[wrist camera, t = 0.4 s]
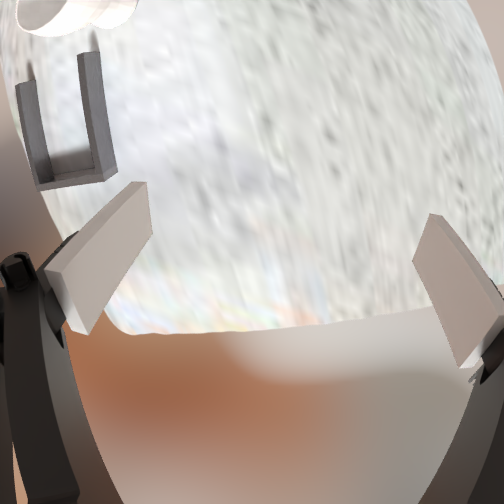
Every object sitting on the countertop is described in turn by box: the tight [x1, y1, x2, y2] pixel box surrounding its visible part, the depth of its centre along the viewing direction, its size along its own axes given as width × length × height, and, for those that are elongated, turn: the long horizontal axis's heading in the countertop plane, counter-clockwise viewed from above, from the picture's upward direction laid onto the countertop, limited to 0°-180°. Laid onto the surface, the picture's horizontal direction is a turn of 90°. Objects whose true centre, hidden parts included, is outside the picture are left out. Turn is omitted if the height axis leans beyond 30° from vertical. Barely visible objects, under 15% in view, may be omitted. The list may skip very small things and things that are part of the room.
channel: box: [15, 52, 118, 192], centre depth 34 cm, size 19×15×4 cm
